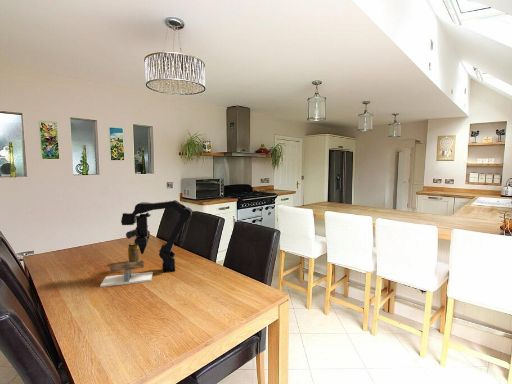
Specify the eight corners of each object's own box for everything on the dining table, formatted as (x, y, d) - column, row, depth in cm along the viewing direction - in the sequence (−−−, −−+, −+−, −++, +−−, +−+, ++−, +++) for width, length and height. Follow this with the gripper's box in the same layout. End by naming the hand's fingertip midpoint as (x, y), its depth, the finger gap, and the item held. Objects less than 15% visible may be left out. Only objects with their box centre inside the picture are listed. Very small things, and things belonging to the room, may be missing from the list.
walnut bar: (143, 265, 152) (143, 260, 151) (143, 267, 149) (143, 262, 149) (111, 270, 146) (110, 264, 145) (110, 272, 143) (110, 266, 143)
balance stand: (152, 273, 156) (152, 263, 156) (151, 281, 146) (150, 270, 145) (106, 278, 150) (105, 267, 149) (100, 286, 139) (99, 275, 139)
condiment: (138, 259, 180) (137, 241, 179) (142, 263, 173) (141, 244, 172) (126, 262, 175) (125, 243, 174) (129, 265, 169) (128, 246, 168)
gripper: (129, 222, 163) (130, 247, 165) (123, 229, 146) (125, 257, 147) (149, 221, 166) (150, 246, 168) (145, 227, 149) (147, 255, 150)
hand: (143, 251), depth 158 cm, fingers open, 9 cm apart
